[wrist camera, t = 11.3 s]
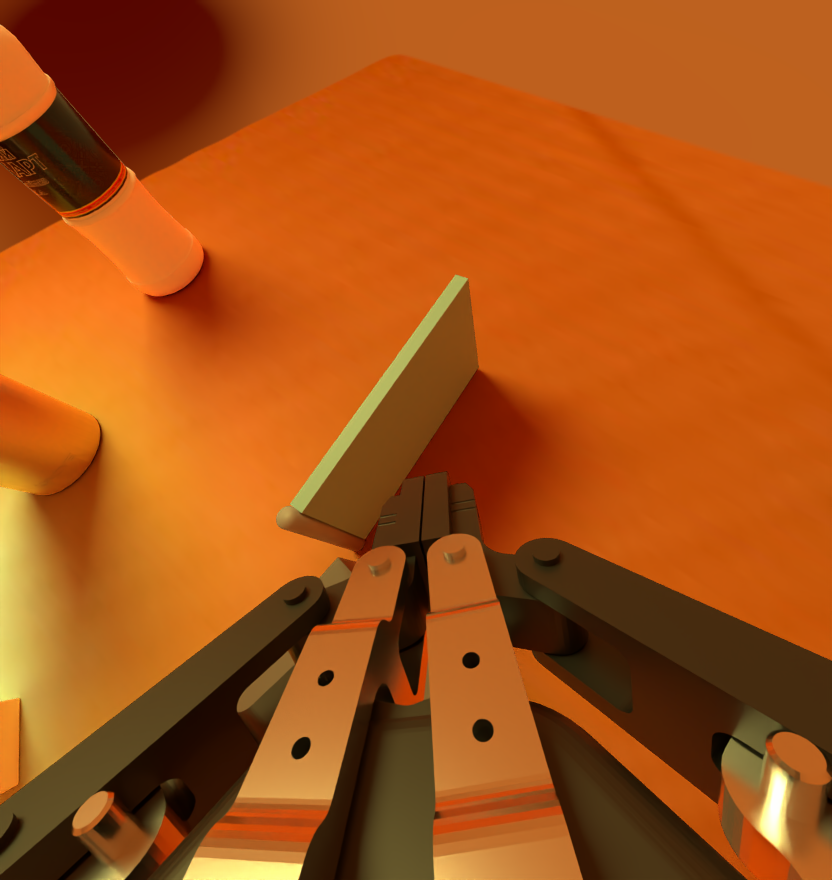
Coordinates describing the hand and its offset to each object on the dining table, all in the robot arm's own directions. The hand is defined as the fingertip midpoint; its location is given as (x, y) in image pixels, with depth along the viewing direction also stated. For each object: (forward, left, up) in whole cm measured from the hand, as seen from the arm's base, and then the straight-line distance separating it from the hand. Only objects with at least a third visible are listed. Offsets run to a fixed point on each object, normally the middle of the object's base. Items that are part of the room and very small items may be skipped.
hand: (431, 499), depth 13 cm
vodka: (-49, +2, -16) cm, 52 cm away
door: (-8, +3, -16) cm, 18 cm away
